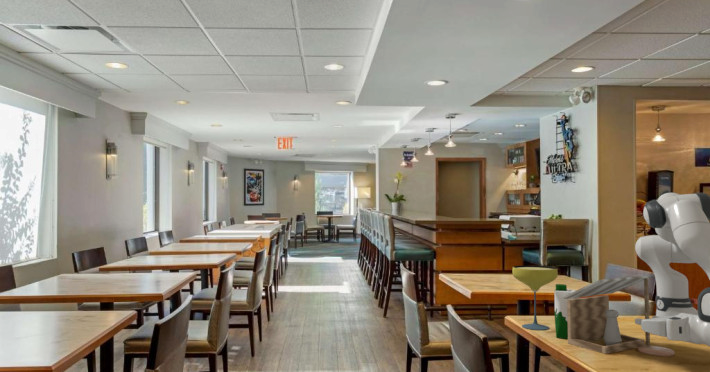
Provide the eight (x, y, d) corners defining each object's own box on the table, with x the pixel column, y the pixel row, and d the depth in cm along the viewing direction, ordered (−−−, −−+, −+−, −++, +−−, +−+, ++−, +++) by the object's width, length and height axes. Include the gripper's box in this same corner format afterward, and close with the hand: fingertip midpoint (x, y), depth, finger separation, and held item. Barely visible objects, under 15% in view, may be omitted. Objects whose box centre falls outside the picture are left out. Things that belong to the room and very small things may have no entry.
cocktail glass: (509, 322, 223) (508, 265, 225) (551, 323, 222) (550, 265, 223) (518, 331, 205) (517, 269, 207) (564, 332, 204) (563, 270, 205)
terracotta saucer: (657, 347, 183) (657, 344, 183) (682, 355, 172) (682, 353, 172) (630, 348, 181) (630, 346, 181) (653, 357, 170) (653, 354, 170)
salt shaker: (623, 349, 180) (622, 312, 181) (606, 348, 181) (605, 311, 182) (618, 344, 186) (617, 308, 186) (601, 343, 187) (601, 308, 187)
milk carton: (557, 333, 203) (556, 283, 204) (582, 336, 198) (581, 284, 199) (553, 338, 195) (552, 285, 196) (578, 341, 190) (577, 287, 192)
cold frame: (611, 335, 199) (610, 270, 200) (651, 345, 185) (649, 275, 186) (562, 344, 186) (561, 274, 187) (601, 355, 172) (599, 280, 173)
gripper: (705, 314, 166) (662, 308, 178) (668, 320, 156) (626, 312, 168) (705, 334, 165) (663, 326, 178) (669, 341, 156) (626, 331, 168)
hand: (644, 319), depth 173 cm, fingers open, 8 cm apart
